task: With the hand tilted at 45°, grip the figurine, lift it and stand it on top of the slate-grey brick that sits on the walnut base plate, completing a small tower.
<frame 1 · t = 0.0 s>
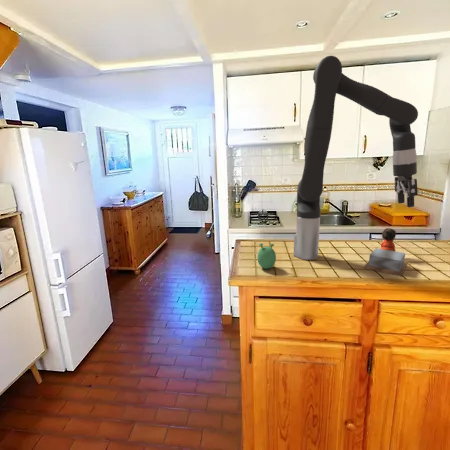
hand: (405, 204, 110), 22 cm above the table, tool pointing down, fingers open, 8 cm apart
pedestal: (386, 267, 108), on the table
figurine: (387, 257, 119), on the table
alien toy: (266, 268, 110), on the table
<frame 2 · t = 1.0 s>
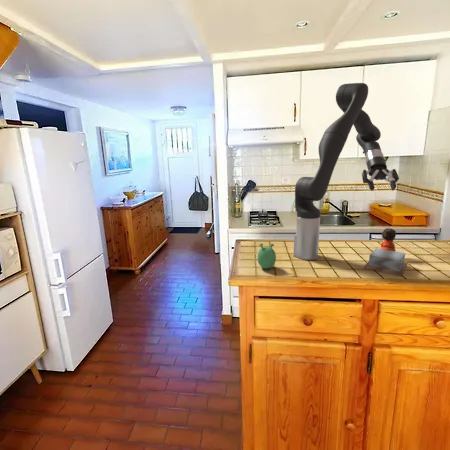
hand: (383, 189, 124), 27 cm above the table, tool tilted 45°, fingers open, 8 cm apart
nothing on the table moved.
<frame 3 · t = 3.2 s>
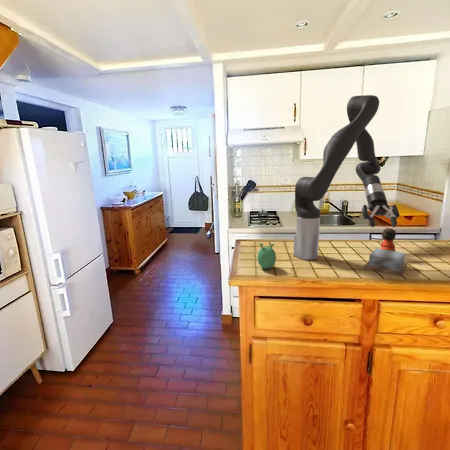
hand: (384, 226, 122), 12 cm above the table, tool tilted 45°, fingers open, 8 cm apart
nothing on the table moved.
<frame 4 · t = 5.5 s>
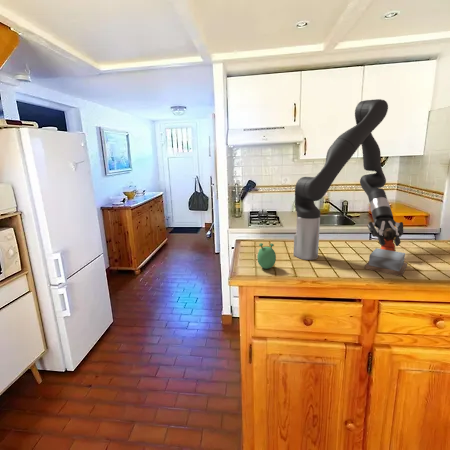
hand: (390, 244, 116), 6 cm above the table, tool tilted 45°, fingers closed on figurine, 5 cm apart
figurine: (387, 256, 119), on the table, touching gripper
everything else where it was.
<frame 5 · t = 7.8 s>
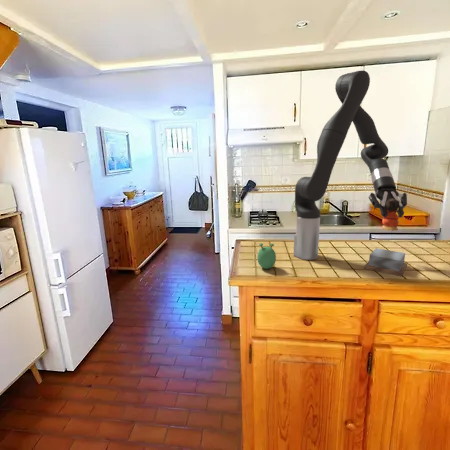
hand: (393, 216, 108), 19 cm above the table, tool tilted 45°, fingers closed on figurine, 5 cm apart
figurine: (389, 229, 111), point 13 cm above the table, touching gripper
everything else where it was.
when the fingers open (12 cm above the table, at t = 10.4 s): figurine drops 1 cm, resting on pedestal.
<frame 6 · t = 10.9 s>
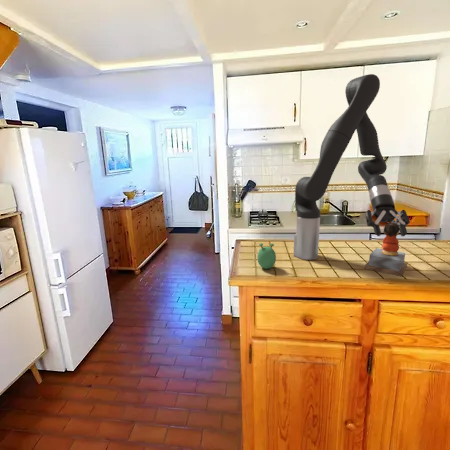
hand: (391, 235, 104), 13 cm above the table, tool tilted 45°, fingers open, 8 cm apart
figurine: (389, 254, 107), point 5 cm above the table, touching pedestal
everything else where it was.
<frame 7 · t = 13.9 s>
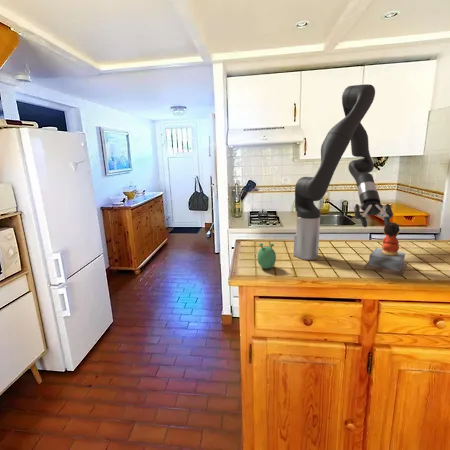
hand: (376, 226, 116), 13 cm above the table, tool tilted 45°, fingers open, 8 cm apart
nothing on the table moved.
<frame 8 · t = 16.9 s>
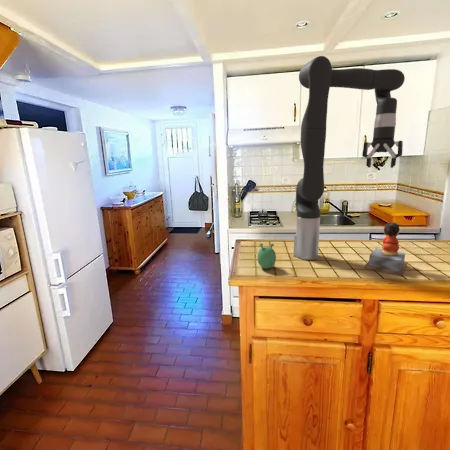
hand: (380, 167, 119), 36 cm above the table, tool pointing down, fingers open, 8 cm apart
nothing on the table moved.
at the end: figurine 0.8 cm off-centre on the pedestal, point 5.0 cm above the pedestal's base; figurine tilted 0°; the gripper is holding nothing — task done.
